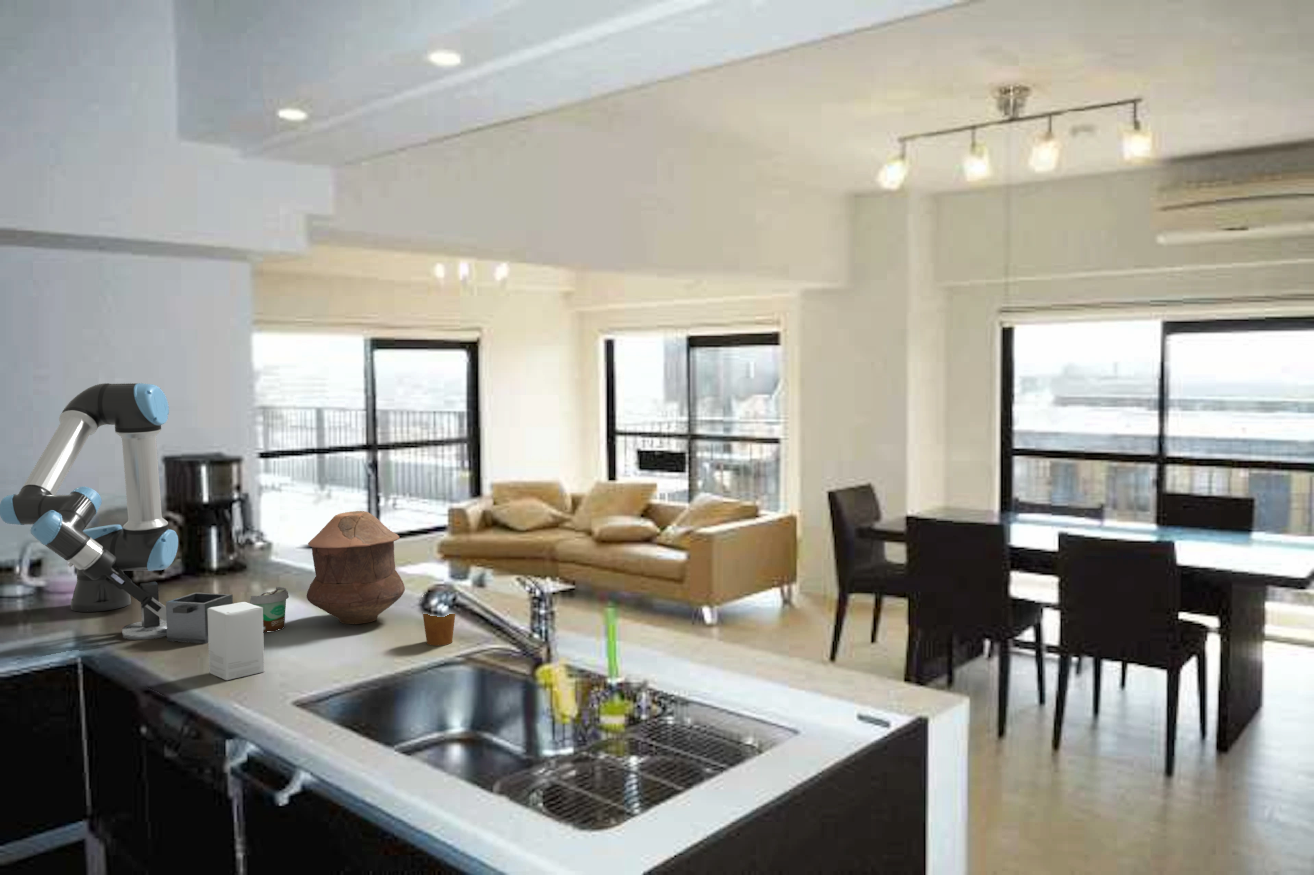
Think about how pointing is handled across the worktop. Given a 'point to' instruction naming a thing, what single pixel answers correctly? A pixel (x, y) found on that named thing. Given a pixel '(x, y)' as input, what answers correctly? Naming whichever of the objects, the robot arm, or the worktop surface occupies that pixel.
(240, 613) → the supplement box
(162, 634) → the lid
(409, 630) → the worktop surface
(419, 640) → the worktop surface
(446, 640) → the disposable coffee cup
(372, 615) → the pottery vessel
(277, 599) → the food container
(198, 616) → the grey open storage bin
